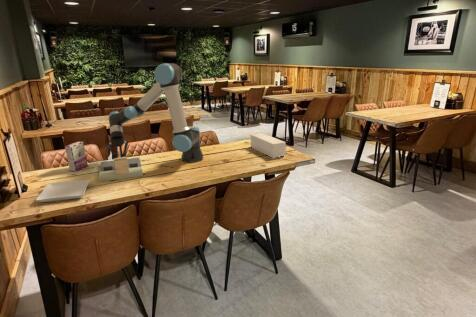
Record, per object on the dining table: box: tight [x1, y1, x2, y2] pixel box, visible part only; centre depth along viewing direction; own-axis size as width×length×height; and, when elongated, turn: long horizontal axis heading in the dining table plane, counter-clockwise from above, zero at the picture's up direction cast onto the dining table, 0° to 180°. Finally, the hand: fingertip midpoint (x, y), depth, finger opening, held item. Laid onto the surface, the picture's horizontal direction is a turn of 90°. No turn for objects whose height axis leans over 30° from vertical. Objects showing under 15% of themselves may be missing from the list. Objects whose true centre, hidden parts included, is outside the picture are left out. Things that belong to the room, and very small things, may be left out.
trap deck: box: [98, 157, 144, 182], centre depth 187 cm, size 30×24×2 cm
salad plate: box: [35, 179, 91, 203], centre depth 155 cm, size 21×21×3 cm
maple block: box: [113, 156, 129, 175], centre depth 177 cm, size 7×7×8 cm
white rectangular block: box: [250, 132, 287, 159], centre depth 222 cm, size 32×11×11 cm, turn 27°
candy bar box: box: [64, 141, 88, 172], centre depth 189 cm, size 11×5×16 cm, turn 168°
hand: (120, 166), depth 181 cm, fingers closed
